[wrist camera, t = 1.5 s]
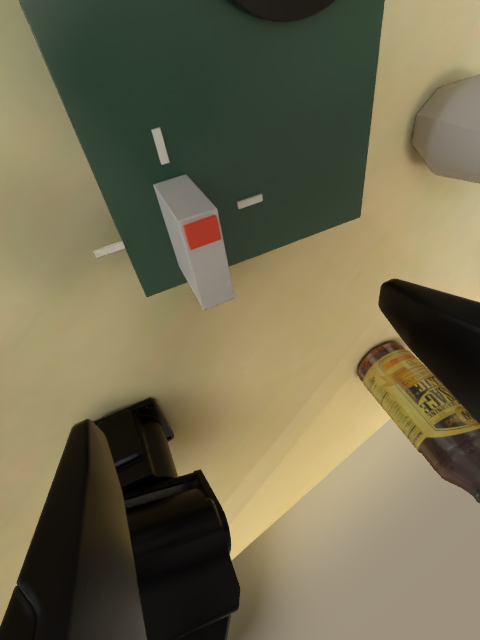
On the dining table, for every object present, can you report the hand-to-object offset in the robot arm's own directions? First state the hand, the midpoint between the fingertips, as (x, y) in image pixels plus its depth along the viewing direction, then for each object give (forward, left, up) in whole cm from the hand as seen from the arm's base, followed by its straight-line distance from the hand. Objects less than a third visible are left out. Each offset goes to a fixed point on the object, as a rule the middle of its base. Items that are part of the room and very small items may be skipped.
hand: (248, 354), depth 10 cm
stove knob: (-1, -1, -10) cm, 10 cm away
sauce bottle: (-26, -19, -13) cm, 35 cm away
